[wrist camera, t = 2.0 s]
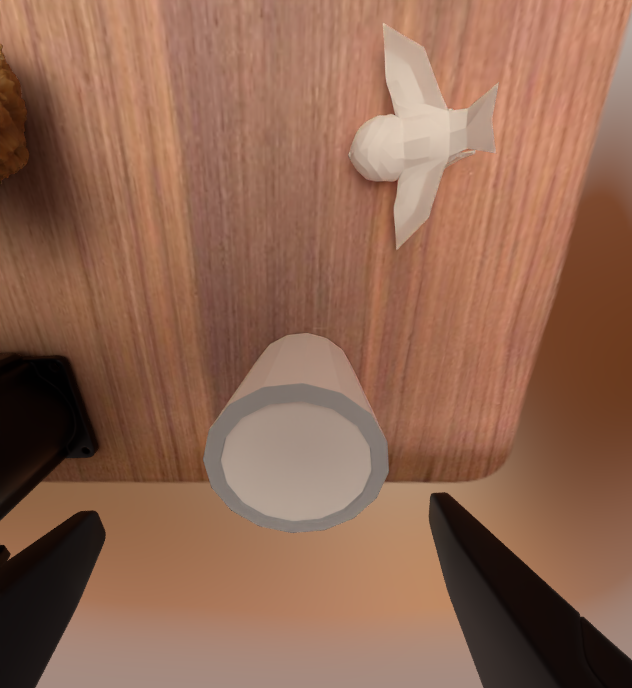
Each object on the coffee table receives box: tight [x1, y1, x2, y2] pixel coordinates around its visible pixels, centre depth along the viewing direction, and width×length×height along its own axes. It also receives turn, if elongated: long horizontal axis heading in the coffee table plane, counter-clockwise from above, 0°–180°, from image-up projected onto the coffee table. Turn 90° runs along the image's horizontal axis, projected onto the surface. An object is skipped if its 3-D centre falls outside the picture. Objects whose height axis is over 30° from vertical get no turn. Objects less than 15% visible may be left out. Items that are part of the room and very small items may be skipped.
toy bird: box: [348, 23, 499, 250], centre depth 13 cm, size 8×5×5 cm, turn 8°
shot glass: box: [203, 333, 389, 533], centre depth 15 cm, size 7×7×7 cm
